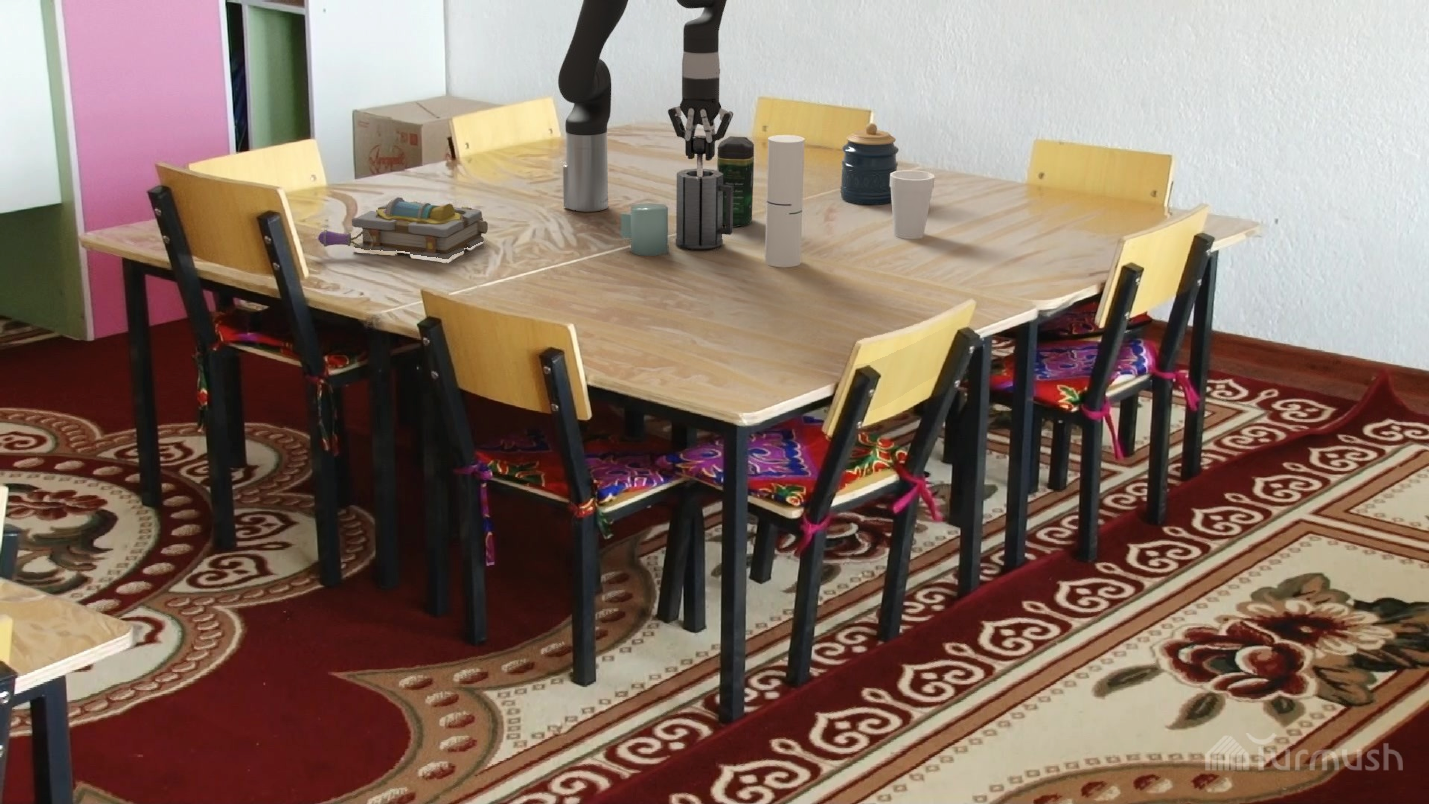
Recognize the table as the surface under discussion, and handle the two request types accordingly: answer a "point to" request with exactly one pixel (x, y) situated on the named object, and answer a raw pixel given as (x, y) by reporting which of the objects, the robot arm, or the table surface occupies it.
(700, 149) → the plunger
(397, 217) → the decorative book
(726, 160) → the coffee jar
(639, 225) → the teal mug
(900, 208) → the foam cup
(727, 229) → the faceted grey mug
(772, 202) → the cylindrical container
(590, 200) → the robot arm
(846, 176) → the canister
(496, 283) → the table surface
